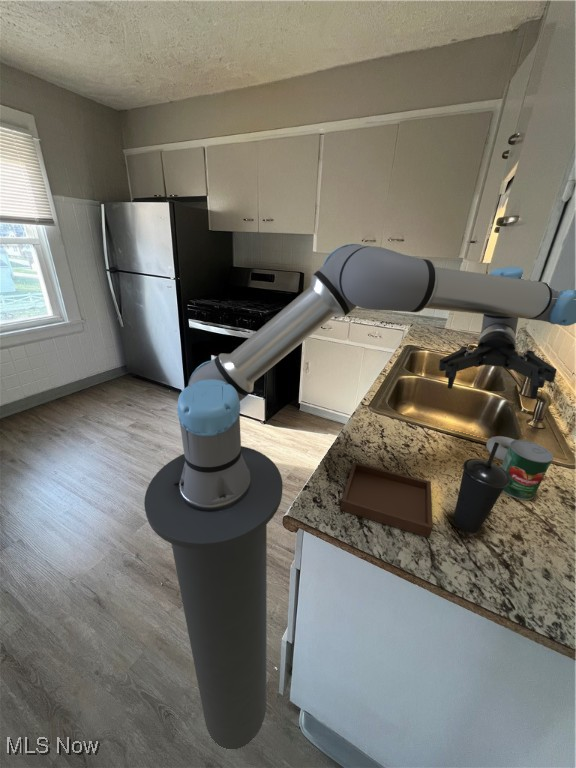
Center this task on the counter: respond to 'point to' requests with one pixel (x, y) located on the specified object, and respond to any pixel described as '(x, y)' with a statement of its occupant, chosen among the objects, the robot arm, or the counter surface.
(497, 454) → the donut
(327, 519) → the counter surface
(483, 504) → the drinking cup
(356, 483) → the tray
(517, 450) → the canned tomato
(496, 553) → the counter surface
